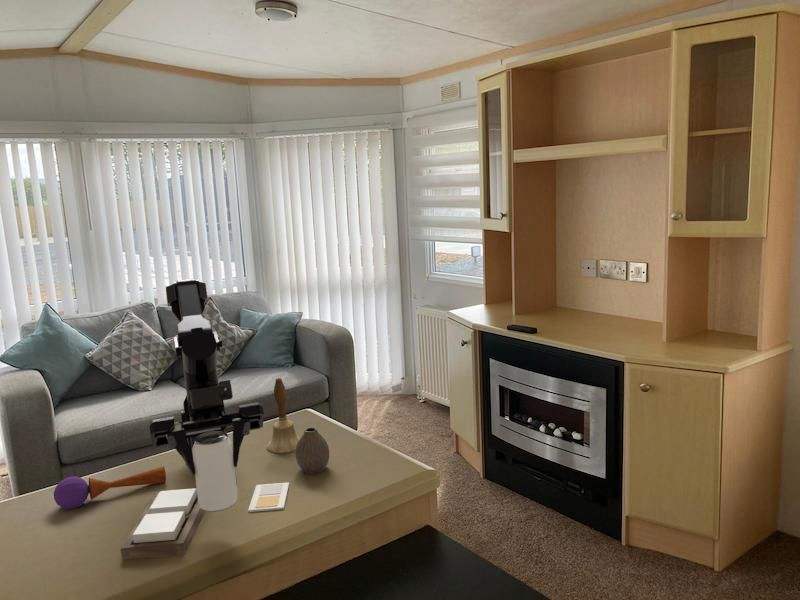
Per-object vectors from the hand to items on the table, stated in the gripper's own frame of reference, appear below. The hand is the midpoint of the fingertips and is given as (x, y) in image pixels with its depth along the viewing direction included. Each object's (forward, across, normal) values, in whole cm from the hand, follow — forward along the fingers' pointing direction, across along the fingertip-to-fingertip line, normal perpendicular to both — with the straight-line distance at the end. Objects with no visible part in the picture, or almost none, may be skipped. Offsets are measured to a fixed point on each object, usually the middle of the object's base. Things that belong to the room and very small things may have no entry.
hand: (215, 470), depth 109 cm
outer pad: (+5, -10, +9) cm, 14 cm away
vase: (-4, +20, +22) cm, 30 cm away
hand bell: (-15, +17, +33) cm, 40 cm away
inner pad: (-1, -7, +15) cm, 16 cm away
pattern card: (+1, +10, +16) cm, 18 cm away
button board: (+4, -8, +13) cm, 16 cm away
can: (+4, 0, +6) cm, 7 cm away
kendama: (-9, -18, +27) cm, 34 cm away
